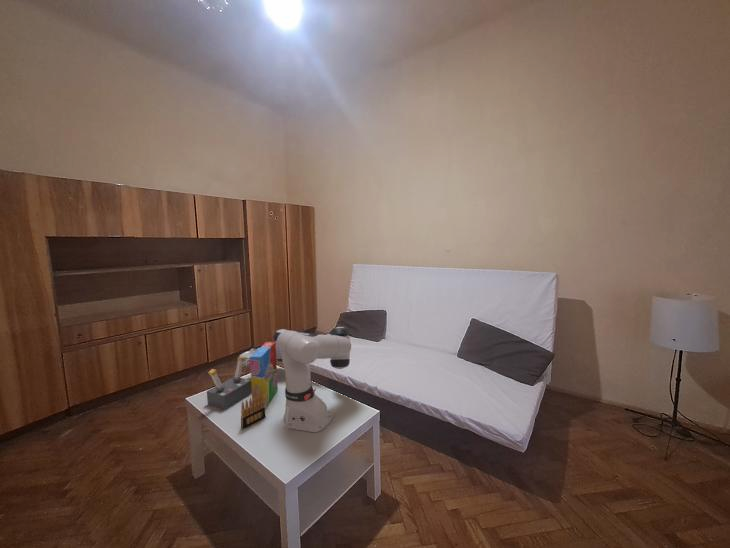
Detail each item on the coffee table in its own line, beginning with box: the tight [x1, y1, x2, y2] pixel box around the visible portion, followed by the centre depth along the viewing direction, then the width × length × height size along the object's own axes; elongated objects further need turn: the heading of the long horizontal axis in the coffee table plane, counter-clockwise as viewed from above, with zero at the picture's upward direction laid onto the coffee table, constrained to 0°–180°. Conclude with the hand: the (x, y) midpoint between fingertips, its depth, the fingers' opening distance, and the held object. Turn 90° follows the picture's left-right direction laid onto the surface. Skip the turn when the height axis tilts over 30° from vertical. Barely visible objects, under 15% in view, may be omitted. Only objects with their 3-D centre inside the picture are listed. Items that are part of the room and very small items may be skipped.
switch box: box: [206, 377, 252, 411], centre depth 146 cm, size 12×17×7 cm
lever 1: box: [207, 368, 225, 391], centre depth 139 cm, size 3×2×12 cm
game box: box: [250, 341, 279, 410], centre depth 143 cm, size 21×6×27 cm, turn 179°
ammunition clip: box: [240, 393, 267, 430], centre depth 126 cm, size 11×2×12 cm, turn 140°
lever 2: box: [232, 356, 245, 382], centre depth 151 cm, size 3×2×12 cm
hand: (244, 364), depth 155 cm, fingers closed
